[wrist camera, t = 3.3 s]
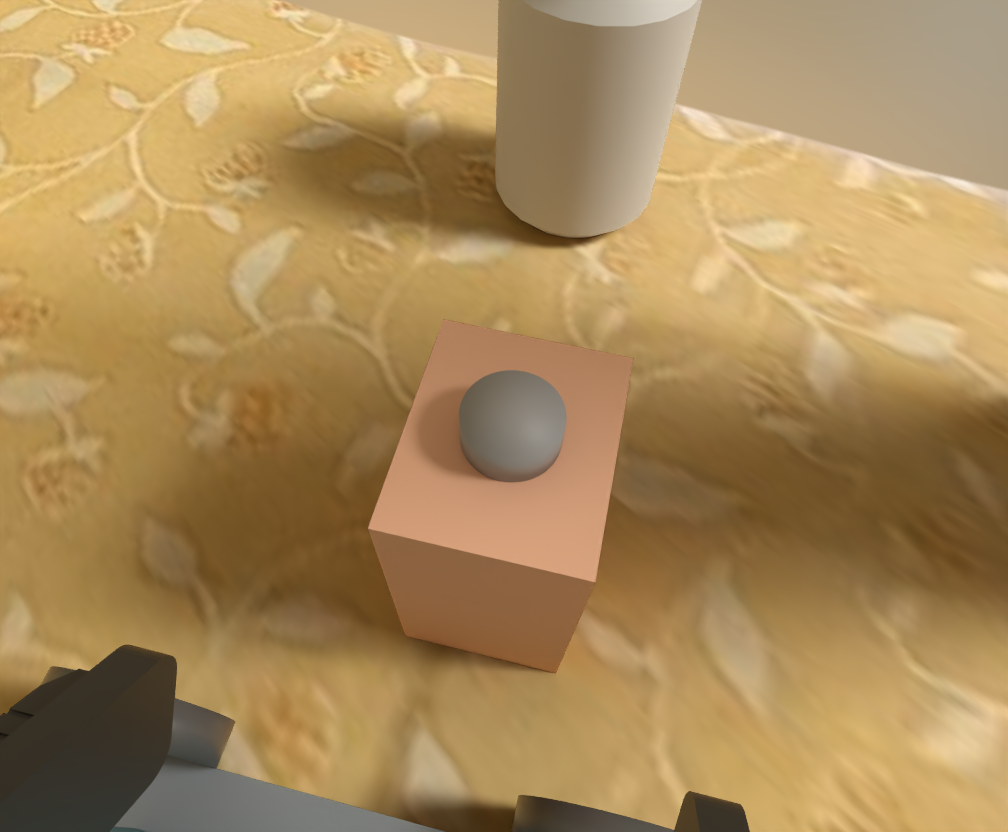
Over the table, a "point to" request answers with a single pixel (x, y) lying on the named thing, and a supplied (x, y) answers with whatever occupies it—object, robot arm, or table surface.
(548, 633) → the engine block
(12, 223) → the table surface
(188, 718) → the chassis
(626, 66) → the can
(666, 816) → the table surface
